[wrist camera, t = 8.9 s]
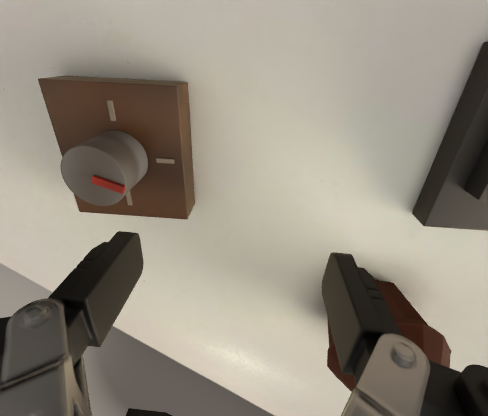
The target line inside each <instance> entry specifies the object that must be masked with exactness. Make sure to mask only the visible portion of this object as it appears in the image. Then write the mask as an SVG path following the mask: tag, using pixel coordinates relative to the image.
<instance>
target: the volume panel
mask: <svg viewBox="0 0 488 416" xmlns="http://www.w3.org/2000/svg"><path fill="white" fill-rule="evenodd" d="M38 81H39V84H40V87H41V91H42V94H43V97H44V100H45V103H46V106H47V110H48V113H49V116H50V119H51V122H52V126H53V129H54V132H55V135H56V138H57V141H58V145H59V148H60V151H61V154H62V157H63V156H64V154H65V153H66V152H67V151H68V150H69V149H71V148H73V147H75V146H77V145H79V144H81V143H83V142H85V141H87V140H89V139H91V138H93V137H95V136H97V135H99V134H101V133H104V132H106V131H111V130H117V131H122V132H125V133H127V134H129V135H131V136H132V137H134V138H135V139H136V140H137V141H138V142H139V143H140V144H141V145H142V147H143V148H144V150H145V152H146V154H147V158H148V169H147V172H146V174H145V175H144V177H143V178H142V179H141V180H140V181H139V182H138V183H137V184H136V185H135V186H134V187H133V188H132V189H131V190H130V191H129V192H128V193H127V194H126V195H125V196H124V197H123V198H122V199H121V200H120V201H119V202H117V203H115V204H113V205H108V206H98V205H94V204H90V203H88V202H86V201H84V200H82V199H81V198H79V197H78V196H76V195H75V194H74V196H75V199H76V202H77V205H78V208H79V211H80V212H90V213H104V214H118V215H133V216H147V217H161V218H175V219H188V217H189V215H190V213H191V211H192V208H193V206H194V204H195V197H194V180H193V163H192V146H191V129H190V112H189V95H188V82H176V81H157V80H138V79H118V78H99V77H79V76H58V77H49V78H39V79H38Z"/></svg>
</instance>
